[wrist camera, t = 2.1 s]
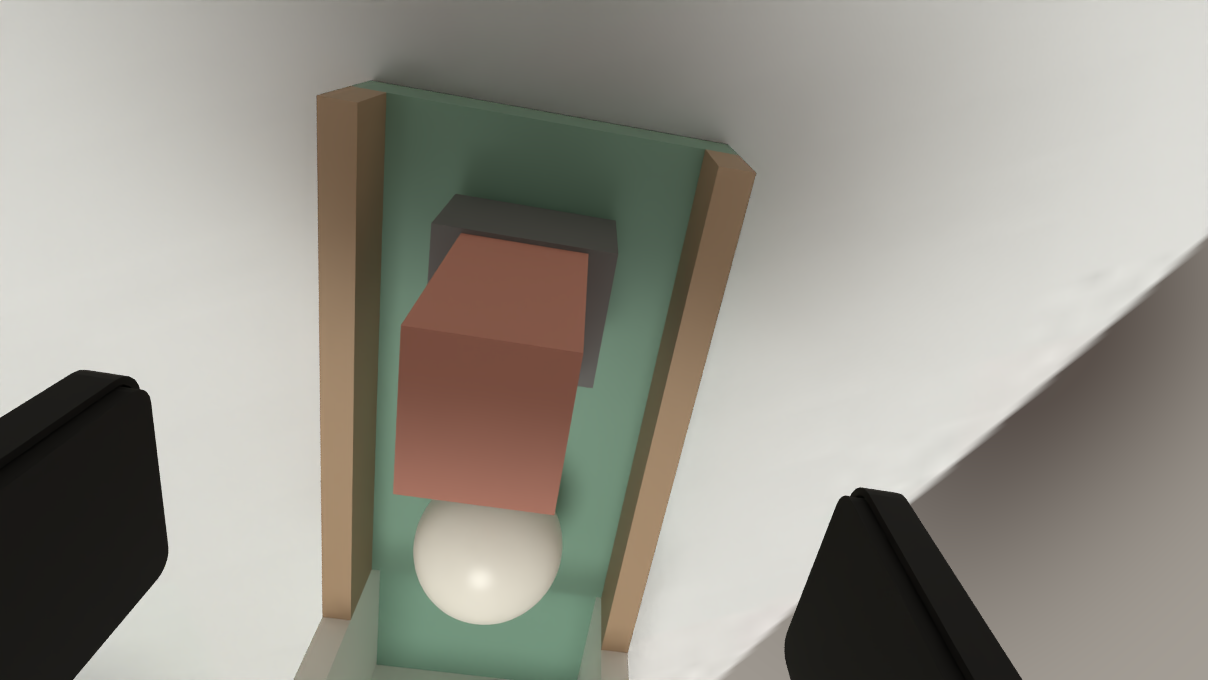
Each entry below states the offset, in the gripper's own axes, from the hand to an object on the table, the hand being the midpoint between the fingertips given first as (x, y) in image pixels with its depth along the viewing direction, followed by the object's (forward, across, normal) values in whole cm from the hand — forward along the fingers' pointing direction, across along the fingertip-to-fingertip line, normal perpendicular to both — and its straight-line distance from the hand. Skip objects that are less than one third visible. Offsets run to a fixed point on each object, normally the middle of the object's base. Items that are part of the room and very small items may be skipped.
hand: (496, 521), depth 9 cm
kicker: (+8, +1, -1) cm, 8 cm away
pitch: (+10, +1, +6) cm, 12 cm away
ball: (+7, +1, +7) cm, 10 cm away
